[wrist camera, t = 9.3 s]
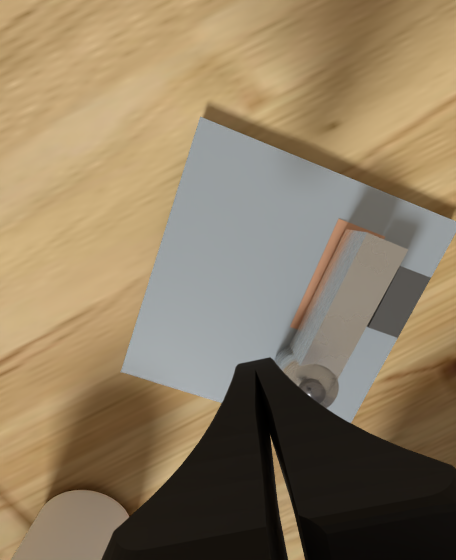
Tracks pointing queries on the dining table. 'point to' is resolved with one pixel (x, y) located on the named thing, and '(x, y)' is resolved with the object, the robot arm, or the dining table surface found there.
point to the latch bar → (339, 313)
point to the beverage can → (72, 527)
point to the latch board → (268, 265)
